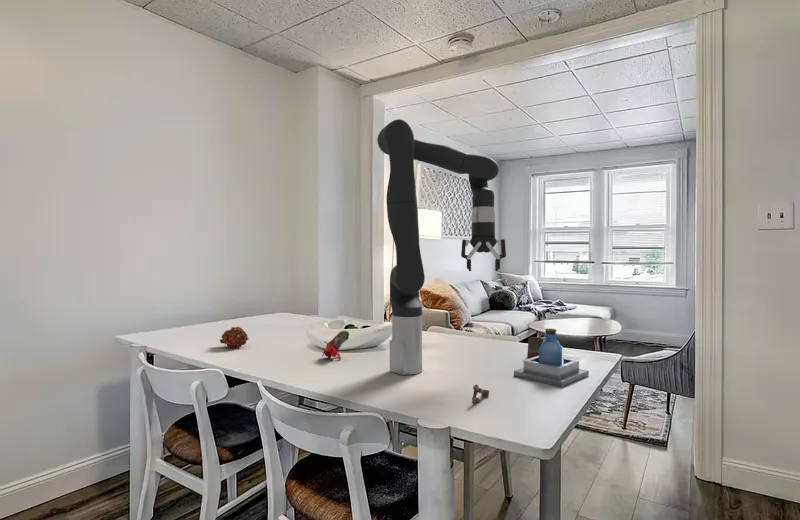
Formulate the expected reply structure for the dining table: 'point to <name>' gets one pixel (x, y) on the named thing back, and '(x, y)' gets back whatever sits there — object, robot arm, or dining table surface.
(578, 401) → the dining table surface
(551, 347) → the perfume bottle
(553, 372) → the grey square frame
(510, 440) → the dining table surface
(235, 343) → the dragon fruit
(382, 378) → the dining table surface
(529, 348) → the electronic device
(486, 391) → the wooden post with brackets
